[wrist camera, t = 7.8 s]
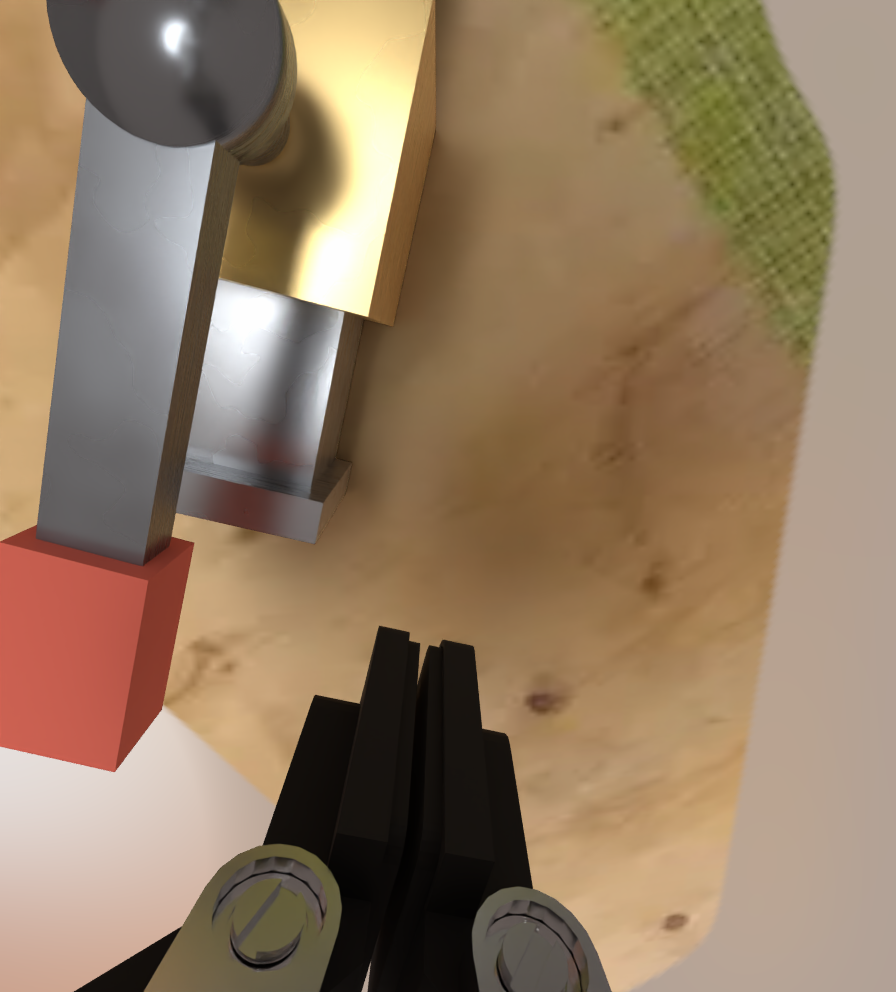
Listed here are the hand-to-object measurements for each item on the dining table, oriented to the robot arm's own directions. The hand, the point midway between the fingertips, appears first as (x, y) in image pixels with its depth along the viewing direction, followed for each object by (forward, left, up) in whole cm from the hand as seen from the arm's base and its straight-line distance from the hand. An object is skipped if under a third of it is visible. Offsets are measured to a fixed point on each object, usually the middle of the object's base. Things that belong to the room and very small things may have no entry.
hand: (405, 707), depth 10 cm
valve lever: (-4, -6, -2) cm, 7 cm away
